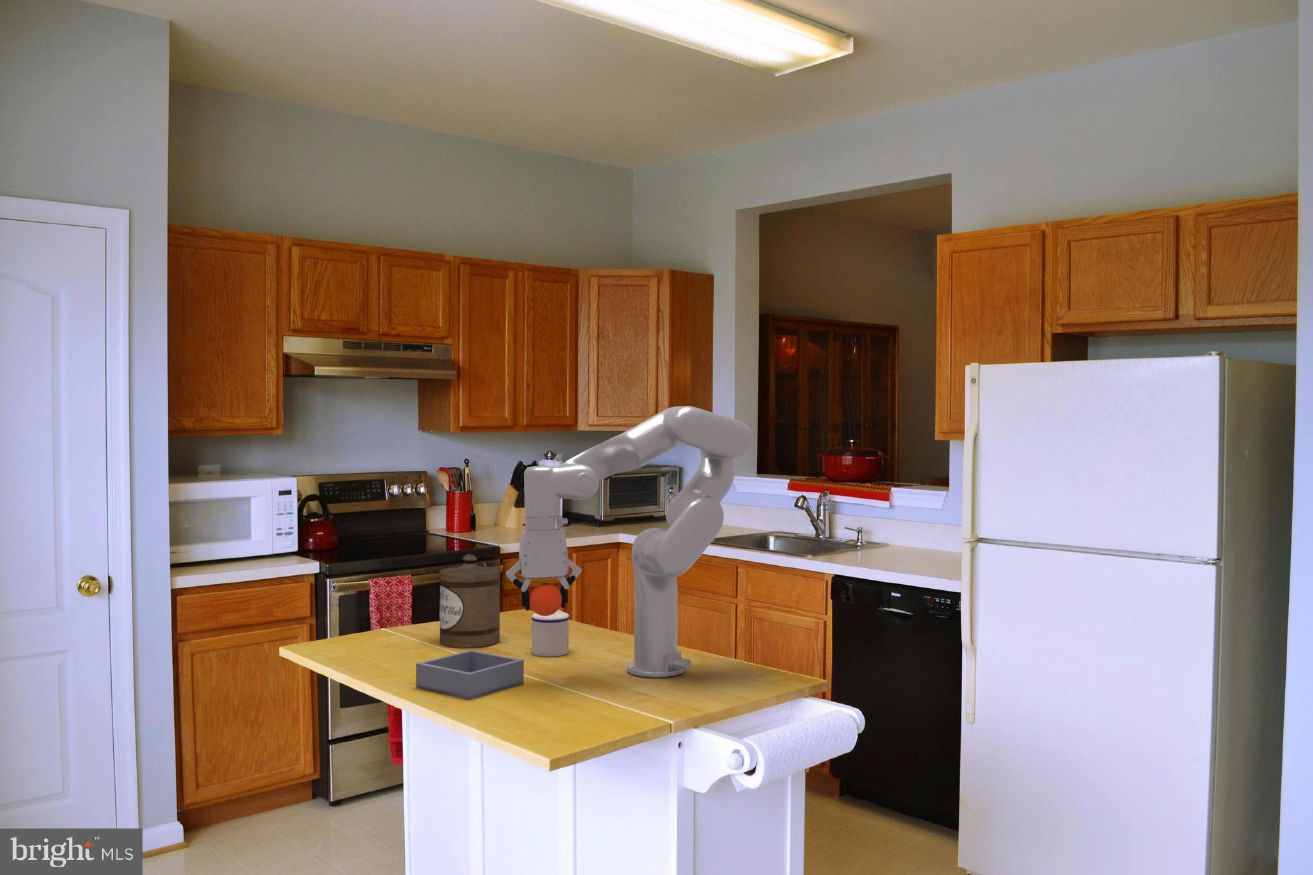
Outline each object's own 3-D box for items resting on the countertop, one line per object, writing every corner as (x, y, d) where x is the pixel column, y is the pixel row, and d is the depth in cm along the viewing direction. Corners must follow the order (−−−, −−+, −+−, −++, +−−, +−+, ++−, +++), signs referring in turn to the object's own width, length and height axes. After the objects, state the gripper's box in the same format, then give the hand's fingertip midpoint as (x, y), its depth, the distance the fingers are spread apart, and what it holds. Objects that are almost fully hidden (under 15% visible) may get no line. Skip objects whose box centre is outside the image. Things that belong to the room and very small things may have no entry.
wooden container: (433, 638, 254) (434, 552, 254) (490, 634, 260) (491, 549, 260) (447, 650, 240) (447, 559, 240) (506, 645, 247) (507, 556, 246)
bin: (523, 683, 210) (523, 659, 210) (469, 699, 197) (469, 674, 197) (471, 672, 219) (471, 649, 219) (416, 687, 206) (416, 663, 206)
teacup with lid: (577, 653, 238) (577, 604, 238) (545, 659, 232) (545, 609, 232) (547, 645, 247) (548, 598, 247) (516, 650, 241) (517, 602, 241)
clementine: (530, 611, 214) (530, 578, 214) (563, 611, 215) (563, 578, 215) (527, 619, 207) (527, 584, 206) (561, 618, 207) (560, 584, 207)
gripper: (580, 521, 217) (582, 602, 217) (499, 524, 212) (501, 607, 213) (586, 524, 209) (588, 608, 210) (503, 528, 205) (505, 614, 205)
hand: (544, 607), depth 211 cm, fingers closed on clementine, 7 cm apart
